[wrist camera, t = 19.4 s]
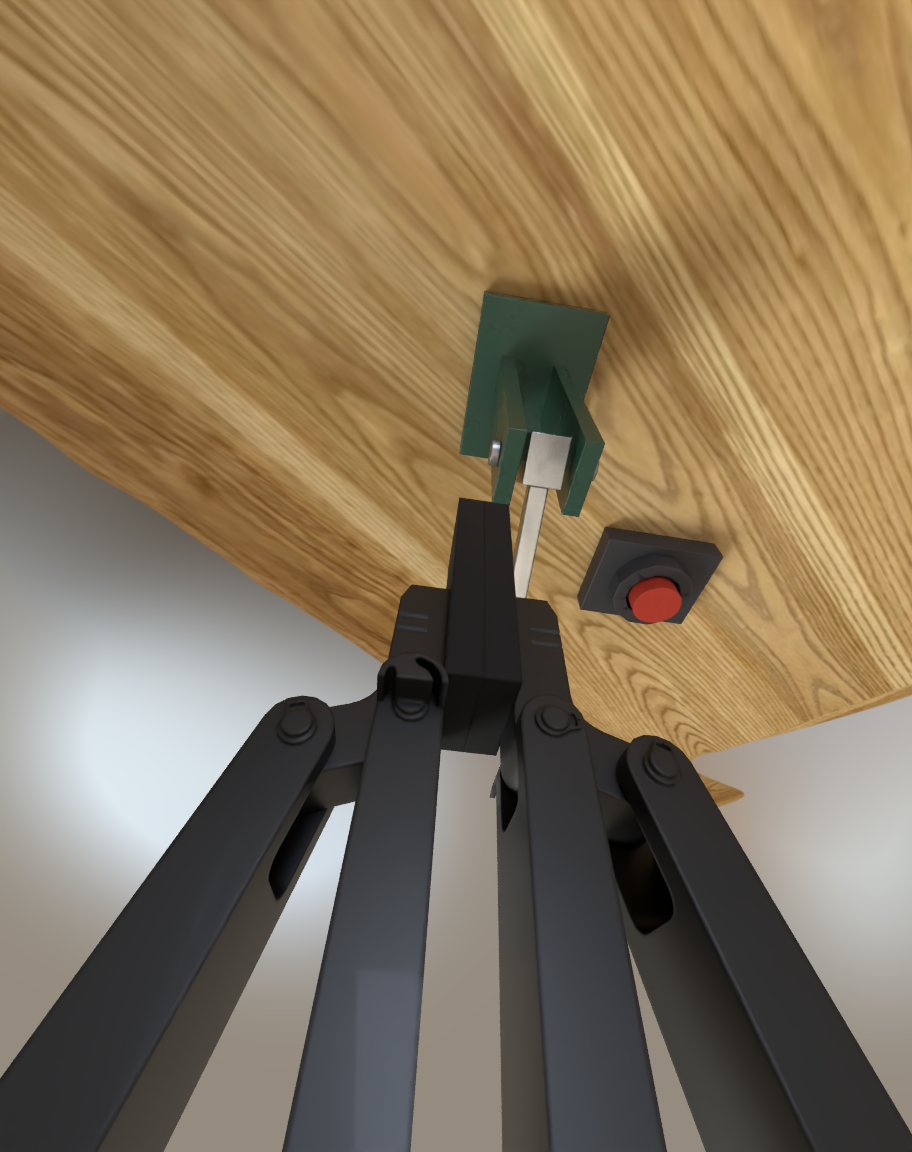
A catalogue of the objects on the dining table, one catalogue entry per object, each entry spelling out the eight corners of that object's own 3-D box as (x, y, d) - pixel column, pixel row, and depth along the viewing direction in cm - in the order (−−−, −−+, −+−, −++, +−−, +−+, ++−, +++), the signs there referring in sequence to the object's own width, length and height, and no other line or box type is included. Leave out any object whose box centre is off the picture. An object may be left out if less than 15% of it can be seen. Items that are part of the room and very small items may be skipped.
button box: (576, 596, 50) (582, 621, 47) (605, 526, 45) (613, 550, 41) (674, 610, 51) (687, 636, 47) (714, 543, 45) (731, 568, 42)
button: (621, 607, 46) (625, 619, 45) (638, 573, 43) (643, 584, 42) (664, 613, 46) (669, 625, 45) (683, 579, 43) (690, 591, 42)
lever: (517, 696, 32) (525, 727, 28) (466, 690, 32) (467, 719, 28) (571, 440, 27) (588, 439, 24) (511, 431, 27) (520, 428, 24)
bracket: (560, 464, 41) (591, 574, 28) (460, 448, 40) (447, 553, 28) (607, 312, 33) (676, 371, 21) (484, 290, 33) (482, 338, 21)
